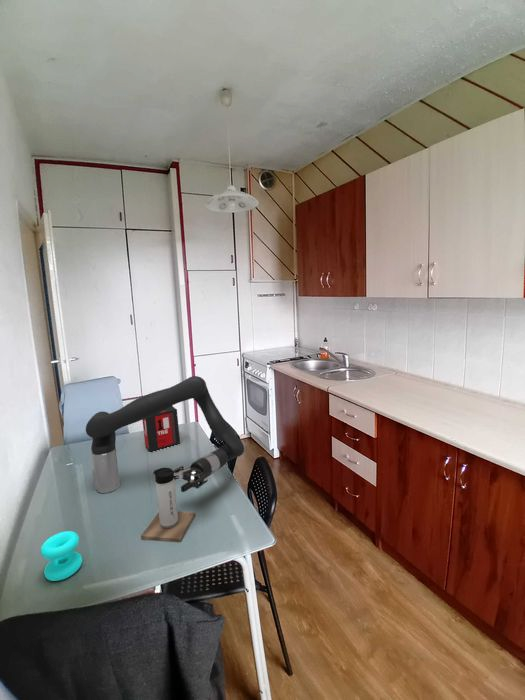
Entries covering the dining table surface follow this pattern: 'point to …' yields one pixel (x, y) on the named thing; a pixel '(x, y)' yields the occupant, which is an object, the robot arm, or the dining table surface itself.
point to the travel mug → (166, 497)
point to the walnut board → (170, 534)
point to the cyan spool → (61, 555)
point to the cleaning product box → (161, 430)
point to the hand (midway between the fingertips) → (173, 486)
